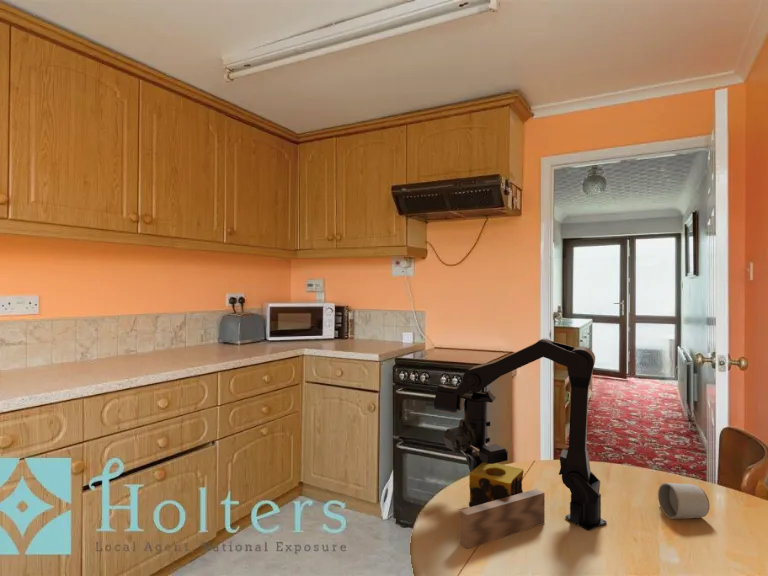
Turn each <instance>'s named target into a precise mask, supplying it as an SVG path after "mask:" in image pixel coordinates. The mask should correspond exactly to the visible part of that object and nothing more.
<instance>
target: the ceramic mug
mask: <svg viewBox="0 0 768 576" xmlns="http://www.w3.org/2000/svg"><path fill="white" fill-rule="evenodd" d="M657 497H658V498H657V499H658V504H659V506H660V508H661V511H662V512H663V514H665V516H666V517H668V518H669V519H672V520H677V519H678V520H680V519H699V518H700V519H701V518H703V517H706V516H707V515H709V511H710V507H711V506H710V505H711V504H710V501H709V500H710V499H709V497H708V495H707V493H706V492H705V490H704V489H703V488H702V487H700V486H699V485H696V484H691V483H673V482H664V483H661V485H660V486H659V488H658V492H657Z"/></svg>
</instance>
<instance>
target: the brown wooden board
mask: <svg viewBox="0 0 768 576" xmlns="http://www.w3.org/2000/svg"><path fill="white" fill-rule="evenodd" d="M545 495H546V494H545V492H544V491H542V490H540V489H538V488H534V489H531V490H527V491H523V493H520V494H516V495H513V496H509V497H505V498H502V499H498V500H495V501H491V502H487V503H484V504H480V505H477V506H473V507H469V506H468V507H466V508H463V509H460V510H459V544H460V545H461V546H462V547H464V548H465V549H466V550H468V549H471V548H473V547H477V546H481V545H484V544H486V543H489V542H493V541H495V540H499V539H501V538H504V537H508V536H511V535H514V534H517V533H520V532H523V531H526V530H529V529H532V528H535V527H538V526H542V525H544V524H545V516H546V513H545V510H546V509H545V505H546V504H545V497H546V496H545Z"/></svg>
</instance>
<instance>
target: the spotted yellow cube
mask: <svg viewBox="0 0 768 576" xmlns="http://www.w3.org/2000/svg"><path fill="white" fill-rule="evenodd" d="M468 476H469V479H468V481H469V483H468V484H469V486H468V488H469V502H468V508H469V507H473V506H477V505H480V504H484V503H487V502H491V501H495V500H498V499H502V498H505V497H509V496H513V495H516V494H520V493H523V492H524V491H523V483H522V482H523V478H524V477H523V476H524V468H520V467H515V466H511V465H506V464H502V463H494V464H487V463H486V462H484V461H483V462H482V463H481V464H480V465H479V466H478V467H477V468H475V469H474V470H473V471H472V472H470V471H469V475H468Z"/></svg>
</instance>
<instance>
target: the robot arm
mask: <svg viewBox="0 0 768 576" xmlns="http://www.w3.org/2000/svg"><path fill="white" fill-rule="evenodd" d="M541 358H546V359H548V360H550V361H552V362H554V363H557V364H559V365H560V366H564V367H566V369H567V376H568V381H569V384H570V402H569V403H570V406H569V429H568V430H569V431H568V448H567V449H568V450H567V449H564V448H562V450H561V453H560V455H559V463H560V468H559V472H558V475H559V476H561V480H562V483H563V484H564V486H566V488H568V489H569V491H570V502H569V514H567V515H565V516H564V518H565V520H568V521H570V522H571V523H573V524H575V525H577V526H579V527H580V528H583V529H584V530H586V531H591V530H594V529H596V528H599V527H602V526H605V525H607V520H605V519H603V518H602V516H601V515H602V514H601V513H602V503H601V502H602V498H601V497H602V496H601V495H602V494H601V493H600V490H601V489H600V488H601V480H600V479H599V478H598V477H597V476H596V475H595V474H594V473H593V472H592V471H591V465H590V457H589V452H588V448H587V440H588V439H587V437H588V436H587V434H588V431H587V430H588V412H589V411H588V410H589V388H590V385H591V379H592V376H593V371H594V367H595V363H596V355H595V353H594V352H593V350H591V349H590V348H588V347H586V346H581V345H580V346H576V347H574V346H572V345H568V344H565V343H560V342H556V341H552V340H550V338H549V339H548V338H541V339H539V340H538V341H537V342H534V343H533V344H530V345H528V346H526V347H524V348H522V349H520V350H518V351H515V352H514V353H511V354H509V355H507V356H504V357H503V358H500V359H498V360H495V361H492V362H487V363H483V364H478V365H475V366H473V367H471V368H470V369H468V370H466V371H465V372H464V373H463V376H462V381H461V383H460V384H459V385H458V386H449V385H446V384H439V385H437V391H436V392H435V397H434V399H433V407H434V410H435V411H436V412H442V413H447V414H448V413H449V414H454V415H458V414H459V413H460V411H463V418H461V419H460V420H459V424H458V426H457V427H456V426H455V427H450V428H447V429H446V430H445V432H444V434H443V435H442V437H443V440H444V443H445V446H446V448H447V449H449V450H452V452H454V453H458V452H461V453H462V454H463V455H464V457H465V459H466V462H467V465H468V466H467V467H468V469H469V473H470V472H472V471H473V470H474V469H475V468H477V467H478V466H479V465H480V464H481V463H482V462H483V461H484V462H486V463H487V464H494V463H498V464H500V463H503V462H506V461H507V462H508V460H509V451H508V450H507V448H505V447H504V446H500V445H499V444H497V443H495V444H490V445H489V444H487V443H490V442H491V438H490V437H489V436H487V431H488V430H487V429H488V428H487V427H491V421H489V420H488V403H490V404H491V403H493V402H494V401H496V399H497V398H496V396H495V395H494V394H493V393H492V392H491V390H487V391H486V392H481V391H482V390H483V389H485V388H486V387H488V386H489V385H490V384H492V383H493V382H495V381H496V380H497V379H499V378H500V377H502V376H505V375H506V374H509V373H511V372H513V371H515V370H517V369H519V368H522V367H524V366H526V365H528V364H530V363H533V362H535V361H537V360H539V359H541ZM469 392H472V394H471V393H469Z"/></svg>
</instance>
